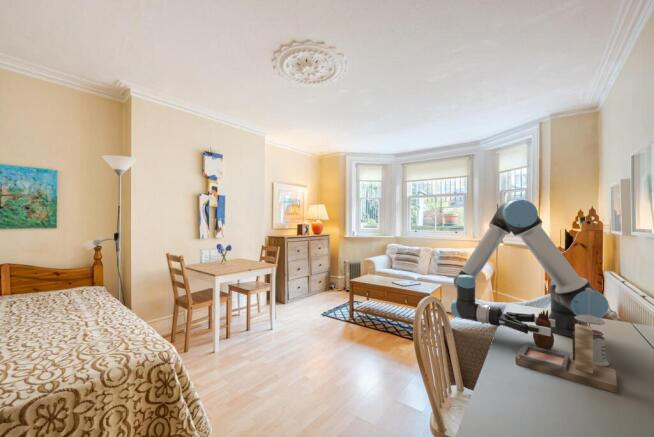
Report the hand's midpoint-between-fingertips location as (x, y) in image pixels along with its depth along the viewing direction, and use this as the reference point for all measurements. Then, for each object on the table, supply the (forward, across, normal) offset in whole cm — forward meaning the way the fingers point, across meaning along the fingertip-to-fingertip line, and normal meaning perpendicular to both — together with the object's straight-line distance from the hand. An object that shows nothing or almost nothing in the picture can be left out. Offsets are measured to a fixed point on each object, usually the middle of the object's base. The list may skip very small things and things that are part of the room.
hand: (553, 327), depth 108 cm
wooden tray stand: (+4, +16, -8) cm, 19 cm away
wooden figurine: (-3, 0, -9) cm, 9 cm away
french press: (+10, -1, -9) cm, 13 cm away
